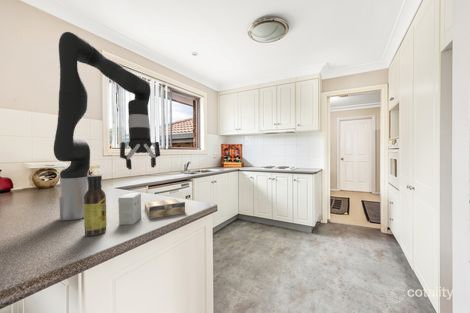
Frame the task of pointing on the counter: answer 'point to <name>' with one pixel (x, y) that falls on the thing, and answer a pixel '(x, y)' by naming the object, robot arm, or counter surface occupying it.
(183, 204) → the brown patterned flat box
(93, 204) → the sauce bottle
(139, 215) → the small box
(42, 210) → the counter surface
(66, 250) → the counter surface
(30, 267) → the counter surface
